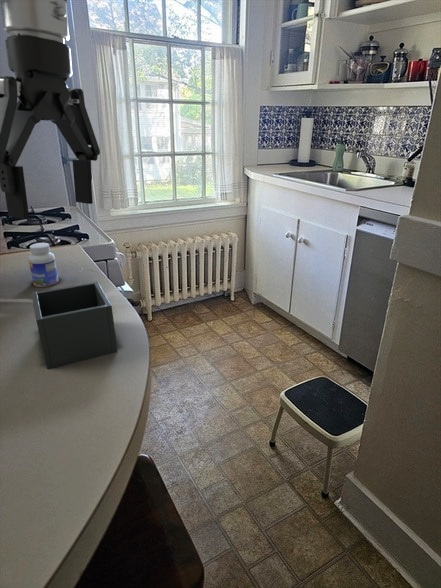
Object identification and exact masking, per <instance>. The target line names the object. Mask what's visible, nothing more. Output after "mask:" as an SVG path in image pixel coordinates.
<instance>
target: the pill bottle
mask: <svg viewBox="0 0 441 588" xmlns="http://www.w3.org/2000/svg"><path fill="white" fill-rule="evenodd" d="M29 250H30V251H29V252H30V255H29V256H28V264H29V269H30V274H31V279H32V284H33V286H35V287H39V288H43V287H45V288H46V287H50V286H53V285H56V284H58V282H59V276H58V269H57V263H56V258H55V257H56V256H55V255H54V253H53V252H50V251H51V247H50V244H49V243H47V242H37V243H33V244H30V246H29Z"/></svg>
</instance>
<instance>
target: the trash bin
mask: <svg viewBox="0 0 441 588" xmlns="http://www.w3.org/2000/svg"><path fill="white" fill-rule="evenodd" d="M31 298H32V302H33V303H32V304H33V309H34V315H35V321H36V325H37V331H38V334H39V339H40V340H39V341H40V344H41V349H42V353H43V358H44V362H45V368H46V369H47V370H48V369H52V368H57V367H60V366H65V365H68V364H73V363H76V362H77V363H78V362H80V361H85V360H88V359H89V360H90V359H93V358H97V357H100V356H105V355H109V354H113V353H117V352H118V345H117V339H116V338H117V336H116V328H115V321H114V320H115V319H114V314H113V313H114V312H113V305H112V304H111V302H110V300H109V298H108V296H107V295H106V293H105V291H104V290H103V288H102V287H101V285H100V283H99V282H98V281H93V282H88V283H82V284H76V285H75V284H74V285H69V286H64V287H58V288H51V289H45V290H40V291H34V292H31Z"/></svg>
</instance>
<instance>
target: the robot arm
mask: <svg viewBox="0 0 441 588" xmlns="http://www.w3.org/2000/svg"><path fill="white" fill-rule="evenodd" d="M67 3H68V1H67V0H0V11H1V19H2V21H1V22H2V28H3V29H2V30H3V31H4V32H5V33H6V34H8V35H9V36H6V39H5V40H4V41H5V50H6V51H5V52H6V58H7V66H8V69H9V70H10V71H11V72H13V73H14V76H8V75H7V76H6V75H0V189H1V192H2V193H4V196H5V203H6V210H7V217H8V218H13V219H14V218H15V219H21V220H27V219H28V220H29V219H30V214H29V206H28V197H27V189H26V180H25V173H24V166H23V165H22V166H21V165H17V164H18V161H19V159H20V158H21V156H22V153H23V151H24V149H25V147H26V145H27V142H28V141H29V138H30V136H31V135H32V133H33V130H34V129H35V126H36V125H37V124H38V123H40V122H41V121H47V122H48V121H49V122H51V123H53V124H55V126H56V127H57V129H58V130H59V132H60V133H61V135H62V136H63V138H64V140H65V141H66V143H67V145H68V146H69V148H70V149H71V151H72V152H73V154H74V156H75V158H76V159H72V161H71V162H72V172H73V173H72V174H73V184H74V185H73V186H74V198H75V200H74V201H75V203H81V204H88V205H92V204H94V203H93V186H92V180H93V170H92V169H93V168H92V162H94V161H95V162H96V161H98V157H99V156H100V154H101V149H100V146H99V144H98V140H97V137H96V135H95V132H94V131H95V130H94V129H93V125H92V123H91V119H90V116H89V112H88V111H87V108H86V103H85V95H84V90H83V89H82V88H73V87H68V84H67V80H68V79H70V78H72V76H73V64H72V52H71V47H69V45H68V44H66V43H65V42H67V41H69V40H70V31H69V17H68V6H67Z"/></svg>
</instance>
